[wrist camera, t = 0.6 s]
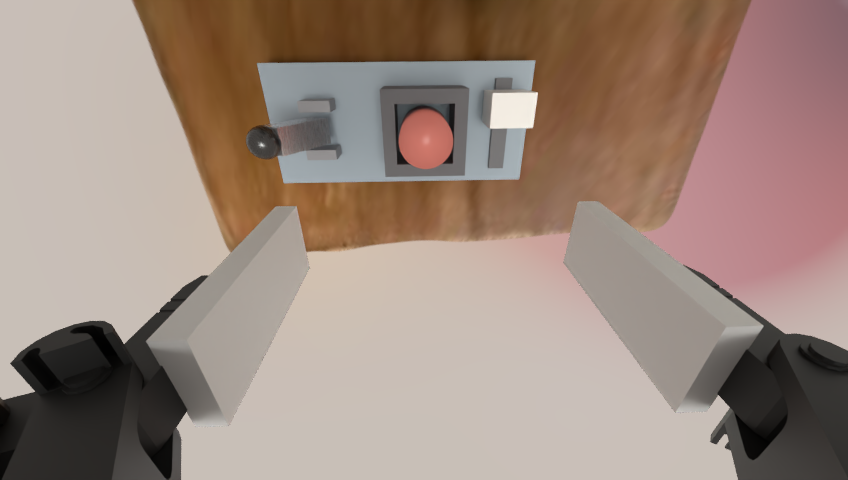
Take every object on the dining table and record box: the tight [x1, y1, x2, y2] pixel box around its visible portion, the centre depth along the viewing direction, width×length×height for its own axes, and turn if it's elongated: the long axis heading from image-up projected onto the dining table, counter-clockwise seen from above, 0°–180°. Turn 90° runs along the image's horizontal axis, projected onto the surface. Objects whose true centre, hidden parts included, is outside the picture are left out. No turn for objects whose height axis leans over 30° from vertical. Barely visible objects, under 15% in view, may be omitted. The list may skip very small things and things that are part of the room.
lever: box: [246, 117, 331, 159], centre depth 30 cm, size 3×3×8 cm
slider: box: [482, 89, 538, 129], centre depth 31 cm, size 3×4×4 cm
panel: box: [257, 61, 535, 183], centre depth 33 cm, size 12×27×8 cm, turn 90°
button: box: [399, 106, 453, 169], centre depth 30 cm, size 5×5×6 cm
